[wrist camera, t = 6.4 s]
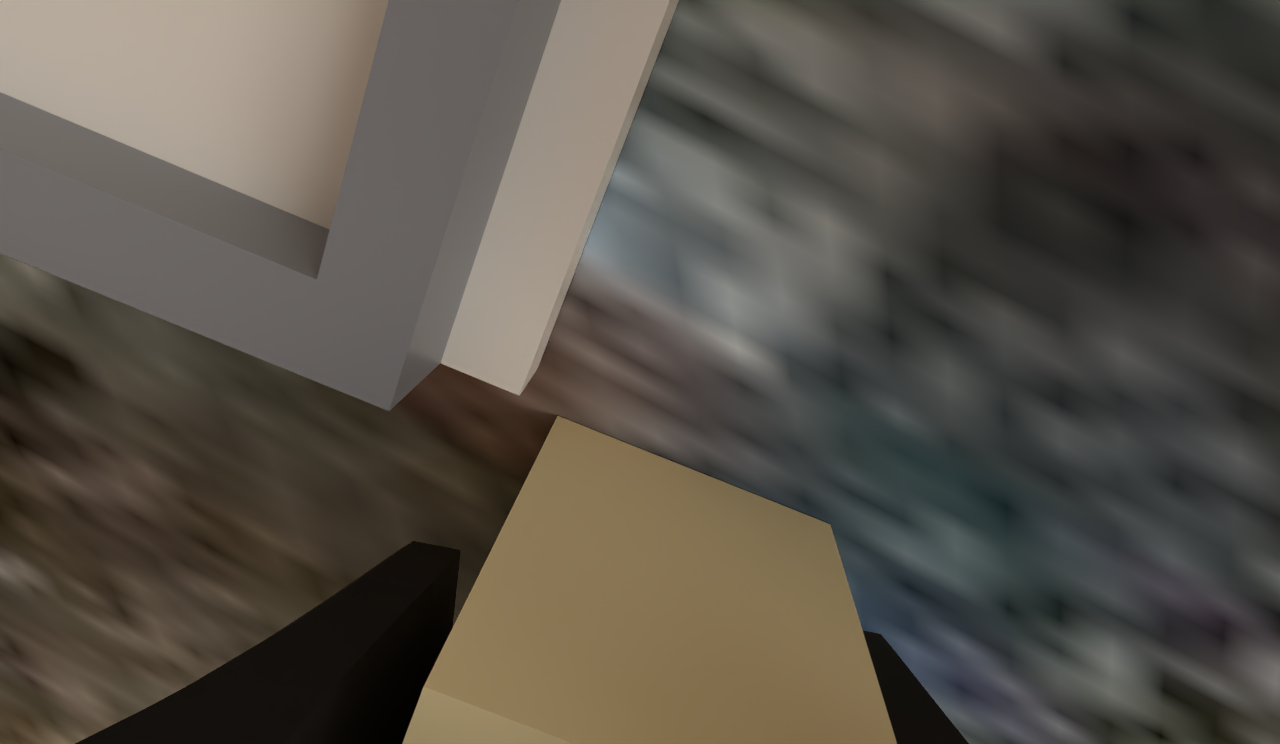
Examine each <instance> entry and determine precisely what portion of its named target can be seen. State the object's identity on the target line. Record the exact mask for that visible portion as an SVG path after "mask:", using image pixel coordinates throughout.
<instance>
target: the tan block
mask: <svg viewBox="0 0 1280 744" xmlns="http://www.w3.org/2000/svg"><path fill="white" fill-rule="evenodd" d="M402 744H897V742H896V739H895V735H894V732H893V729H892V725H891V722H890V719H889V716H888V712H887V709H886V706H885V702H884V699H883V696H882V693H881V689H880V686H879V683H878V679H877V676H876V673H875V670H874V666H873V663H872V660H871V656H870V653H869V650H868V647H867V643H866V640H865V637H864V634H863V630H862V627H861V624H860V620H859V617H858V614H857V611H856V607H855V604H854V601H853V597H852V594H851V591H850V588H849V584H848V581H847V578H846V574H845V571H844V568H843V565H842V561H841V558H840V555H839V552H838V548H837V545H836V542H835V538H834V535H833V532H832V529H831V525H830V524H828V523H826V522H823V521H821V520H818V519H815V518H813V517H810V516H808V515H805V514H803V513H800V512H798V511H795V510H793V509H790V508H788V507H785V506H783V505H780V504H778V503H775V502H773V501H770V500H768V499H765V498H763V497H760V496H758V495H755V494H753V493H750V492H748V491H745V490H743V489H740V488H738V487H735V486H733V485H730V484H728V483H725V482H723V481H720V480H718V479H715V478H713V477H710V476H708V475H705V474H703V473H700V472H698V471H695V470H693V469H690V468H688V467H685V466H683V465H680V464H677V463H675V462H672V461H670V460H667V459H665V458H662V457H660V456H657V455H655V454H652V453H650V452H647V451H645V450H642V449H640V448H637V447H635V446H632V445H630V444H627V443H625V442H622V441H620V440H617V439H615V438H612V437H610V436H607V435H605V434H602V433H600V432H597V431H595V430H592V429H590V428H587V427H585V426H582V425H580V424H577V423H575V422H572V421H570V420H567V419H565V418H562V417H560V416H557V418H556V420H555V422H554V424H553V426H552V428H551V430H550V432H549V434H548V436H547V438H546V440H545V442H544V444H543V446H542V448H541V450H540V452H539V454H538V456H537V458H536V460H535V462H534V464H533V466H532V468H531V470H530V472H529V475H528V477H527V479H526V481H525V483H524V485H523V487H522V489H521V491H520V493H519V495H518V497H517V499H516V501H515V503H514V505H513V507H512V509H511V511H510V513H509V515H508V517H507V519H506V521H505V523H504V525H503V527H502V529H501V531H500V533H499V535H498V537H497V539H496V541H495V543H494V545H493V547H492V549H491V551H490V553H489V555H488V557H487V559H486V561H485V563H484V565H483V567H482V569H481V572H480V574H479V576H478V578H477V580H476V582H475V584H474V586H473V588H472V590H471V592H470V594H469V596H468V598H467V600H466V602H465V604H464V606H463V608H462V610H461V612H460V614H459V616H458V618H457V620H456V622H455V624H454V626H453V628H452V630H451V632H450V634H449V636H448V638H447V640H446V642H445V644H444V646H443V648H442V650H441V652H440V654H439V656H438V658H437V660H436V662H435V664H434V667H433V669H432V671H431V673H430V675H429V677H428V679H427V681H426V683H425V685H424V687H423V689H422V692H421V695H420V697H419V700H418V703H417V706H416V708H415V711H414V714H413V716H412V719H411V722H410V724H409V727H408V730H407V732H406V735H405V738H404V741H403V743H402Z"/></svg>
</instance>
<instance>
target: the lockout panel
mask: <svg viewBox="0 0 1280 744" xmlns="http://www.w3.org/2000/svg"><path fill="white" fill-rule="evenodd" d="M678 2H679V0H0V253H1V254H3V255H5V256H8V257H10V258H13V259H15V260H18V261H20V262H23V263H25V264H28V265H30V266H33V267H35V268H38V269H40V270H42V271H45V272H47V273H50V274H52V275H55V276H57V277H60V278H62V279H65V280H67V281H70V282H72V283H74V284H77V285H79V286H82V287H84V288H87V289H89V290H92V291H94V292H97V293H99V294H102V295H104V296H106V297H109V298H111V299H114V300H116V301H119V302H121V303H124V304H126V305H129V306H131V307H134V308H136V309H138V310H141V311H143V312H146V313H148V314H151V315H153V316H156V317H158V318H161V319H163V320H166V321H168V322H170V323H173V324H175V325H178V326H180V327H183V328H185V329H188V330H190V331H193V332H195V333H198V334H200V335H202V336H205V337H207V338H210V339H212V340H215V341H217V342H220V343H222V344H225V345H227V346H230V347H232V348H235V349H237V350H239V351H242V352H244V353H247V354H249V355H252V356H254V357H257V358H259V359H262V360H264V361H267V362H269V363H271V364H274V365H276V366H279V367H281V368H284V369H286V370H289V371H291V372H294V373H296V374H299V375H301V376H303V377H306V378H308V379H311V380H313V381H316V382H318V383H321V384H323V385H326V386H328V387H331V388H333V389H335V390H338V391H340V392H343V393H345V394H348V395H350V396H353V397H355V398H358V399H360V400H363V401H365V402H367V403H370V404H372V405H375V406H377V407H380V408H382V409H385V410H387V411H390V410H391V409H392V408H393V407H394V406H395V405H396V404H397V403H398V402H399V401H401V400H402V399H403V398H404V397H405V396H406V395H407V394H408V393H409V392H410V391H411V390H412V389H413V388H414V387H416V386H417V385H418V384H419V383H420V382H421V381H422V380H423V379H424V378H425V377H426V376H427V375H428V374H430V373H431V372H432V371H433V370H434V369H435V368H436V367H437V366H438V365H439V364H440V363H441V364H443V365H446V366H448V367H451V368H453V369H456V370H458V371H460V372H463V373H465V374H468V375H470V376H473V377H475V378H477V379H480V380H482V381H485V382H487V383H490V384H492V385H494V386H497V387H499V388H502V389H504V390H507V391H509V392H511V393H514V394H516V395H519V396H520V394H521V393H522V391H523V390H524V388H525V387H526V385H527V384H528V382H529V381H530V379H531V378H532V376H533V375H534V373H535V372H536V370H537V369H538V366H539V364H540V361H541V359H542V356H543V353H544V351H545V348H546V345H547V343H548V340H549V338H550V335H551V332H552V330H553V327H554V325H555V322H556V319H557V317H558V314H559V312H560V309H561V306H562V304H563V301H564V299H565V296H566V293H567V291H568V288H569V286H570V283H571V280H572V278H573V275H574V273H575V270H576V267H577V265H578V262H579V260H580V257H581V254H582V252H583V249H584V247H585V244H586V241H587V239H588V236H589V234H590V231H591V228H592V226H593V223H594V220H595V218H596V215H597V213H598V210H599V207H600V205H601V202H602V200H603V197H604V194H605V192H606V189H607V187H608V184H609V181H610V179H611V176H612V174H613V171H614V168H615V166H616V163H617V161H618V158H619V155H620V153H621V150H622V148H623V145H624V142H625V140H626V137H627V135H628V132H629V129H630V127H631V124H632V122H633V119H634V116H635V114H636V111H637V108H638V106H639V103H640V101H641V98H642V95H643V93H644V90H645V88H646V85H647V82H648V80H649V77H650V75H651V72H652V69H653V67H654V64H655V62H656V59H657V56H658V54H659V51H660V49H661V46H662V43H663V41H664V38H665V36H666V33H667V30H668V28H669V25H670V23H671V20H672V17H673V15H674V12H675V10H676V7H677V4H678Z"/></svg>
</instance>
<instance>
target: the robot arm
mask: <svg viewBox="0 0 1280 744" xmlns="http://www.w3.org/2000/svg"><path fill="white" fill-rule="evenodd" d="M460 551H461V550H456V549H451V548H446V547H441V546H436V545H431V544H426V543H421V542H416V541H413V542H411V543H410V544H408V545H407V546H405V547H403V548H402V549H400V550H399V551H397V552H396V553H394V554H393V555H391V556H390V557H388V558H387V559H385V560H384V561H383V562H381V563H380V564H378V565H377V566H375V567H374V568H372V569H371V570H370V571H368V572H367V573H365V574H364V575H362V576H361V577H359V578H358V579H357V580H355V581H354V582H352V583H351V584H349V585H348V586H346V587H345V588H343V589H342V590H341V591H339V592H338V593H336V594H335V595H333V596H332V597H330V598H329V599H327V600H326V601H324V602H323V603H321V604H320V605H318V606H317V607H315V608H314V609H312V610H311V611H309V612H307V613H306V614H304V615H303V616H301V617H300V618H298V619H297V620H295V621H294V622H292V623H291V624H289V625H288V626H286V627H285V628H283V629H281V630H280V631H278V632H277V633H275V634H274V635H272V636H271V637H269V638H267V639H266V640H264V641H263V642H261V643H259V644H258V645H256V646H254V647H253V648H251V649H249V650H248V651H246V652H244V653H242V654H241V655H239V656H237V657H236V658H234V659H232V660H231V661H229V662H227V663H226V664H224V665H222V666H221V667H219V668H217V669H216V670H214V671H212V672H210V673H209V674H207V675H205V676H204V677H202V678H200V679H199V680H197V681H195V682H194V683H192V684H190V685H188V686H187V687H185V688H183V689H181V690H179V691H177V692H176V693H174V694H172V695H170V696H168V697H166V698H164V699H163V700H161V701H159V702H157V703H155V704H153V705H151V706H149V707H147V708H146V709H144V710H142V711H140V712H138V713H136V714H134V715H132V716H130V717H128V718H126V719H124V720H122V721H120V722H118V723H116V724H114V725H112V726H110V727H108V728H106V729H104V730H102V731H100V732H98V733H96V734H94V735H92V736H90V737H88V738H86V739H84V740H82V741H80V742H78V743H75V744H402V743H403V741H404V738H405V735H406V732H407V730H408V727H409V724H410V722H411V719H412V716H413V714H414V711H415V708H416V706H417V703H418V700H419V697H420V695H421V692H422V689H423V687H424V685H425V683H426V681H427V679H428V677H429V675H430V673H431V671H432V669H433V667H434V664H435V662H436V660H437V658H438V656H439V654H440V652H441V650H442V648H443V646H444V644H445V642H446V640H447V638H448V636H449V634H450V632H451V630H452V626H453V616H454V607H455V598H456V588H457V579H458V570H459V560H460ZM863 634H864V637H865V640H866V643H867V647H868V650H869V653H870V656H871V660H872V663H873V666H874V670H875V673H876V676H877V679H878V683H879V686H880V689H881V693H882V696H883V699H884V702H885V706H886V709H887V712H888V716H889V719H890V722H891V725H892V729H893V732H894V735H895V739H896V742H897V744H969V743H968V742H967V741H966V740H965V739H964V737H963V736H962V735H961V734H960V732H959V731H958V730H957V729H956V727H955V726H954V725H953V724H952V722H951V721H950V720H949V719H948V717H947V716H946V715H945V714H944V712H943V711H942V710H941V709H940V707H939V706H938V705H937V704H936V702H935V701H934V700H933V699H932V697H931V696H930V695H929V694H928V692H927V691H926V690H925V689H924V687H923V686H922V685H921V683H920V682H919V681H918V680H917V678H916V677H915V676H914V675H913V673H912V672H911V671H910V670H909V668H908V667H907V666H906V665H905V663H904V662H903V661H902V660H901V658H900V657H899V656H898V655H897V653H896V652H895V651H894V650H893V648H892V647H891V646H890V645H889V644H888V642H887V641H886V640H885V639H884V638H883V637H882V635H881V634H877V633H872V632H867V631H863Z"/></svg>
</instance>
